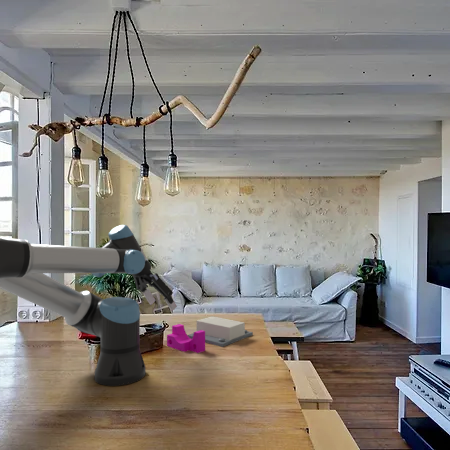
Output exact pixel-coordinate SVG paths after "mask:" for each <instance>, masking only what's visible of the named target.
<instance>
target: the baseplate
mask: <svg viewBox="0 0 450 450" xmlns="http://www.w3.org/2000/svg"><path fill="white" fill-rule="evenodd" d="M195 323H196V331H200V330H203V331H205V344H210V345H214V346H217V347H222V348H223V347H226V346H229V345H231V344H233V343H236V342H238V341H241V340H243V339H246V338H249V337H251V336H253V335H254V333H253V331H248V330H247V329H245V328H246V326H245V325H246V323H245V321H238V320H232V319H227V318H224V317H223V318H222V317H219V316H218V317H217V316H209V317H205V318H201V319H197V320H196V322H195ZM194 332H195V331H194ZM194 332H192V333H189V334H187V336H188V337H189V338H190V339H192V338H193V335H194Z"/></svg>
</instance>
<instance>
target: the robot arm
mask: <svg viewBox="0 0 450 450" xmlns="http://www.w3.org/2000/svg"><path fill="white" fill-rule="evenodd" d="M107 235H108V238H109V240H108V241H107V242H106V243H105V244H104V245H103V246H101V247H92V246H91V247H90V246H74V245H58V244H57V245H55V244H39V243H38V244H37V243H30V242H29V241H28V240H27V239H24V238H22V239H21V238H20V239H19V238H11V237H6V236H0V289H1V290H3V291H6V292H7V293H9V294H12V295H15V296H17V297H19V298H21V299H23V300H25V301H28V302H29V303H32V304H34V305H36V306H39V307H41V308H44V309H45V310H48V311H50V312H52V313H54V314H57V315H58V316H61V317H63V318H64V320H65V321H64V322H65V323H66V324H67V325H68V326H71V327H73V328H75V329H76V330H78V331H79V332H81V333H85V334H89V335H92V336H95V337H98V338H100V352H99V353H100V354H99V357H98V360H97V363H96V367H95V370H94V381H95V383H97V384H99V385H102V386H108V387H109V386H114V387H115V386H124V385H129V384H133V383H135V382H136V383H137V382H138V381H140V380H141V379H143V378H144V377H145V375H146V364H145V361H144V358H143V355H142V352H141V349H140V343H141V341H140V340H141V339H140V333H141V332H140V331H141V330H140V328H141V327H140V326H141V325H140V323H141V321H140V319H141V318H140V317H141V313H140V304H139V303H138V301H136V300H135V299H133V298H130V297H122V296H113V297H107V298H101V297H100V296H98V295H96V294H94V293H93V292H90V291H89V290H81V291H77V290H76V289H73V288H72V287H70V286H68V285H66V284H64V283H62V282H60V281H58V280H56V279H55V278H53V277H51V276H49V275H47V274H92V275H93V277H96V278H102V277H103V276H104V275H106V274H128V275H132V277H133V280H134V284H135V287H136V290H138V291H140V292H141V293H142V294H143V296H144V298H145V300H146V301H147V302H148V304H149V306H151V305H153V304H154V303H155V302H156V298H155V296H154V295H153V294H152V292H151V290H150V289H149V288H148V287H151V288H154V289H155V290H156V291H157V292H158V293H159V294H160V295H162V296H163V300H164V301H165V303H166V305H167V307H168V309H169V310H170V311H171V312H173V311H174V310H175V309H176V308H177V307H178V305H177V303H176V302H175V301H174V300H175V299H174V298H173V296H172V295H173V294H174V292H173V291H172V289H171V288H170V287H169V285H167V284H166V283H165V281H163V280H162V278H161V277H160V276H159V274H158V273H156V272H155V273H154V274H153V273H152V272H151V269H152V265H151V263H150V261H149V259H148V258H147V256H146V254H145V253H144V250H143V248H142V247H141V245H140V243H139V242H138V240H137V239H136V237H135V236H134V232H133V231H132V230H131V229H130V228H129V225H127V224H120V225H117V226H114V227H113V228H112V229H111V230H110V231H109V232H108V234H107Z"/></svg>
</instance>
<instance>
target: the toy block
mask: <svg viewBox="0 0 450 450" xmlns="http://www.w3.org/2000/svg"><path fill="white" fill-rule="evenodd" d="M184 325H185V324H181V323H177V324H174V325H172V326H171V333H169V334H166V347H169V348H172V349H175V350H178V351H181V352H184V353H185V352H188V351H191V352H193V353H195V354H201V353H203V352H205V351H206V343H205V331H203V330H200V331H197V330H196V331H194V335H193V338H192V339H190V338H189V337H188V336H187V335H188V334H187V332H186V330H185V326H184Z"/></svg>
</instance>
